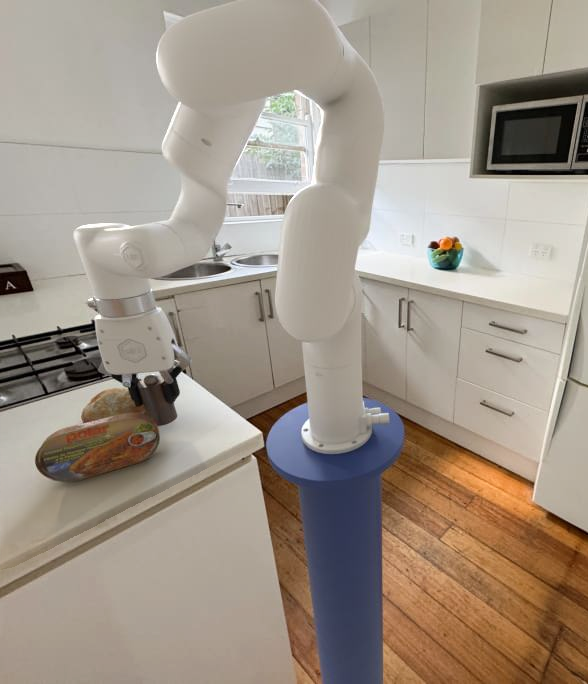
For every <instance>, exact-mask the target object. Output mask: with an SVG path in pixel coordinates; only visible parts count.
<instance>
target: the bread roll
mask: <svg viewBox="0 0 588 684" xmlns="http://www.w3.org/2000/svg"><path fill="white" fill-rule="evenodd" d="M124 413H140V414H143V415H146V416H147V414H146V411H145V408H144V405H142V406H140V407H136V406H135V403H134V401H132V399H131V396H130V393H129V390H128V388H126V387H113V388H108V389H105V390H102V391H100V392H99V393H97V394H96V395H95V396H93V397H92V398H91V399H90V401H89V402H88V403H87V404H86V405H85V406H84V408H83V409H82V411H81V416H80V418H81V421H82V424H83V423H87V422H91V421H95V420H99V419H103V418H107V417H111V416H115V415H120V414H124Z"/></svg>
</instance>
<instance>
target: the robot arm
mask: <svg viewBox="0 0 588 684" xmlns="http://www.w3.org/2000/svg"><path fill="white" fill-rule="evenodd" d="M155 54H156V61H155V62H156V67H157V71H158V73H157V74H158V75H159V78H160V81H161V83H162V84H163V87H164V88H165V90H166V91H167V92H168V93H169V95H171V97H172V98H173V99H175V100H176V101H177V102H178V104H177V106H176V109H175V111H174V114H173V116H172V119H171V122H170V123H169V125H168V129H167V131H166V134H165V136H164V138H163V140H162V143H161V153H162V156H163V158H164V159H165V161H167V163H168V164H169V165H170V166H172V168H173V169H174V170H176V171H177V172H178V174H179V176H180V180H181V181H180V182H181V186H180V187H181V188H180V194H179V196H178V200H177V202H176V204H175V207H174V209H173V210H172V213H171V215H170V217H169V219H165V220H159V221H154V222H153V221H152V222H148V223H143V224H137V225H132V226H130V225H128V224H126V223H119V222H116V223H115V222H107V223H105V222H104V223H92V224H86V225H81V226H79V227H76V228H75V229H74V231H73V233H72V235H73V241H74V245H75V247H76V250H77V253H78V256H79V258H80V260H81V264H82V266H83V269H84V272H85V275H86V278H87V280H88V284H89V286H90V289H91V292H92V295H93V297H92V298H88V299H87V301H86V304H87V306H88V307H89V308H94V309H96V310H97V313H98V315H96V316H95V317H94V327H95V336H96V341H97V347H98V350H99V354H100V357H101V361H100V364H99V366H98V369H97V372H98V373H100V374H103V375H104V376H109V377H111V378H112V379H113V380H115V381H117V382H119V383H121V384H122V386H123V388H126V389H128V390H129V393H130V396H131V399H132V401H134V403H135V406H136V407H140V406H142V405H143V402H142V399H141V396H140V393H139V390H138V387H137V383H138V382H139V381H141V380H142V378H139V374H147V373H155V372H157V373H158V372H159V375H161V376H162V377H163V379H164V381H165V383H164V384H163V388H164V392H165V395H166V398H167V402H168V403H169V404H173V403H174V404H175V401H176V400H177V398H178V397H179V396H180V394H181V391H180V387H179V383H178V380H177V377H179V375H180V374H181V373H182V372H183V371H185V370H186V369H187V368H188V367H190V366H191V364H192V363H193V361H194V359H193V358H192V357H191V356H190V355H188V354H187V353H186V352H184V351H183V350H182V349H180V347H179V344H178V342H177V339H176V335H175V333H174V330H173V328H172V326H171V324H170V321H169V319H168V317H167V315H166V313H165V311H164V310H163V309H162V307H159V306H157V302H156V299H155V295H154V291H153V288H152V285H151V282H150V279H151V280H152V279H157V278H158V279H159V278H162V277H165V276H168V275H170V274H173V273H175V272H177V271H180V270H183V269H185V268H188V267H190V266H191V267H192V266H193V265H196V264H198V263H199V262H201V261H202V260H203V259H204V258H205V257H206V256H207V255H208V253H209V252H210V250H211V248H212V246H213V245H214V243H215V241H216V239H217V237H218V235H219V233H220V231H221V229H222V227H223V224H224V222H225V219H226V215H227V209H228V208H227V207H228V200H229V192H228V191H229V190H228V187H229V183H230V180H231V178H232V176H233V174H234V171H235V169H236V168H237V165H238V163H239V161H240V159H241V157H242V154H243V152H244V151H245V148H246V147H247V144H248V142H249V140H250V139H251V137H252V135H253V133H254V130H255V129H256V126H257V124H258V123H259V120H260V118H261V116H262V115H263V112H264V110H265V108H266V105H267V101H268V98H269V97H274V96H278V95H281V94H286V93H292V92H295V93H297V94H298V95H300V96H301V97H304V98H306V100H309V101H310V102H312V103H314V104H315V105H316V106H317V107H318V108H319V110H320V116H321V122H320V126H319V130H318V133H317V137H316V138H317V139H316V144H315V152H314V153H315V155H314V165H313V172H312V178H311V184H310V185H307V186H305V187H304V188H302V189H300V190H299V191H297V192H296V193H295V194H294V195H293V196H292V198H290V200H289V202H288V204H287V205H286V208H285V210H284V213H283V216H282V220H281V226H280V235H279V243H278V244H279V245H278V257H277V265H276V267H277V268H276V277H275V278H276V279H275V289H274V290H275V291H274V306H275V311H276V316H277V319H278V321H279V323H280V325H281V326H282V328H283V329H284V330H285V331H286V332H287V334H289V335H290V336H291V337H292V338H294V339H296V340H297V341H300V342H301V349H302V357H303V370H304V379H305V390H306V402H307V403H308V411H309V419H308V420H307V421H306V422H305V424H304V425H303V427H302V432H301V434H302V440H303V442H304V444H305V445H306V446H307V447H308V448H310V449H311V450H313V451H316V452H318V453H323V454H341V453H346V452H350V451H353V450H355V449H357V448H359V447H360V446H362V445H363V444H365V443H366V442H367V441H368V439H369V438H370V436H371V434H372V425H375V424H389V413H382V414H381V409H380V408H373V409H368V408H365V406H364V401H363V398H364V397H363V396H364V395H363V394H364V393H363V391H364V390H363V362H362V361H363V359H362V358H363V357H362V355H363V350H362V348H363V347H362V318H363V317H362V315H363V287H362V283H361V282H362V281H361V278H360V276H359V273H358V272H357V271H356V265H357V264H356V263H357V257H358V252H359V248H360V247H361V246H362V244H364V242H365V240H366V239H367V237H368V235H369V232H370V229H371V221H372V212H373V204H374V198H375V194H376V187H377V181H378V174H379V166H380V159H381V153H382V148H383V147H382V146H383V139H384V132H385V105H384V100H383V96H382V91H381V89H380V85H379V82H378V80H377V78H376V76H375V74H374V73H373V71H372V69H371V68H370V66H369V64H367V63H366V61H365V60H364V59H363V57H362V56H361V55H360V54H359V53H358V52H357V51H356V50H355V48H354V47H353V46H352V45H351V43H350V42H349V41H348V40H347V38H346V37H345V35H344V33H343V32H342V31H341V30H340V28H339V27H338V25H337V24H336V22H335V20H334V19H333V17H332V16H331V14H330V13H329V11H328V10H327V9H326V8H325V6H323V4H322V3H321V2H320V1H319V0H233V1H230V2H227V3H222V4H220V5H217V6H214V7H210V8H205V9H203V10H200V11H196V12H194V13H192V14H188V15H186V16H183V17H182V18H180V19H178V20H177V21H175V22H173V23H172V24H171V25H170V26H169V27H167V28H166V30H165V31H164V32H163V34H162V35H161V37H160V39H159V41H158V43H157V49H156V53H155ZM175 361H178V363H177V364H176V366H175Z"/></svg>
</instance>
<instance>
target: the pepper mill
mask: <svg viewBox="0 0 588 684" xmlns="http://www.w3.org/2000/svg"><path fill="white" fill-rule="evenodd" d="M164 383H165V381H164V379H163V377H162V376H161V374H159V375H156V374H155V373H150V374H147V375H145V376H144V377H143V379H141V381H139V382H138V383H137V387H138V390H139V393H140V396H141V399H142V402H143V405H144V408H145V411H146V414H147V416H148V417H150V418H151V419H153V420H154V421H155V423H156V424H157V426H158V427H163V426H167V425H169V424H171V423H172V422H175V420H176V419H177V418H178V412H177V408H176V405H175V402H174V403H173V404H169V403H168V402H167V398H166V395H165V392H164V388H163V384H164Z"/></svg>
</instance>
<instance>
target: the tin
mask: <svg viewBox="0 0 588 684" xmlns="http://www.w3.org/2000/svg"><path fill="white" fill-rule="evenodd" d="M160 440H161V435H160V429H159V426H157V424H156V423H155V421H154V420H153V419H151V418H150V417H148V416H146V415H143V414H140V413H124V414H120V415H115V416H111V417H107V418H103V419H99V420H95V421H91V422H87V423H83V422H82V423H79V424H75V425H70V426H67V427H63V428H61V429H58V430H56V431H54V432H53V433H51V434H50V435H48V436H47V438H46V439H45V440H43V442H42V444H41V446H40V447H39V448H38V450H37V452H36V454H35V456H34V464H35V467H36V469H37V470H38V472H39V473H40V474H41V475H42V476H44V477H45V478H46V479H49V480H51V481H54V482H55V481H56V482H61V483H72V482H79V481H82V480H87V479H89V478H93V477H96V476H99V475H103V474H106V473H109V472H113V471H116V470H119V469H123V468H126V467H130V466H132V465H136V464H140V463H141V462H144V461H145V460H147V459H148V458H150V457H151V456H152V455H153V454H154V453H155V452H156V450H157V449H158V447H159V445H160V442H161V441H160Z"/></svg>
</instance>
